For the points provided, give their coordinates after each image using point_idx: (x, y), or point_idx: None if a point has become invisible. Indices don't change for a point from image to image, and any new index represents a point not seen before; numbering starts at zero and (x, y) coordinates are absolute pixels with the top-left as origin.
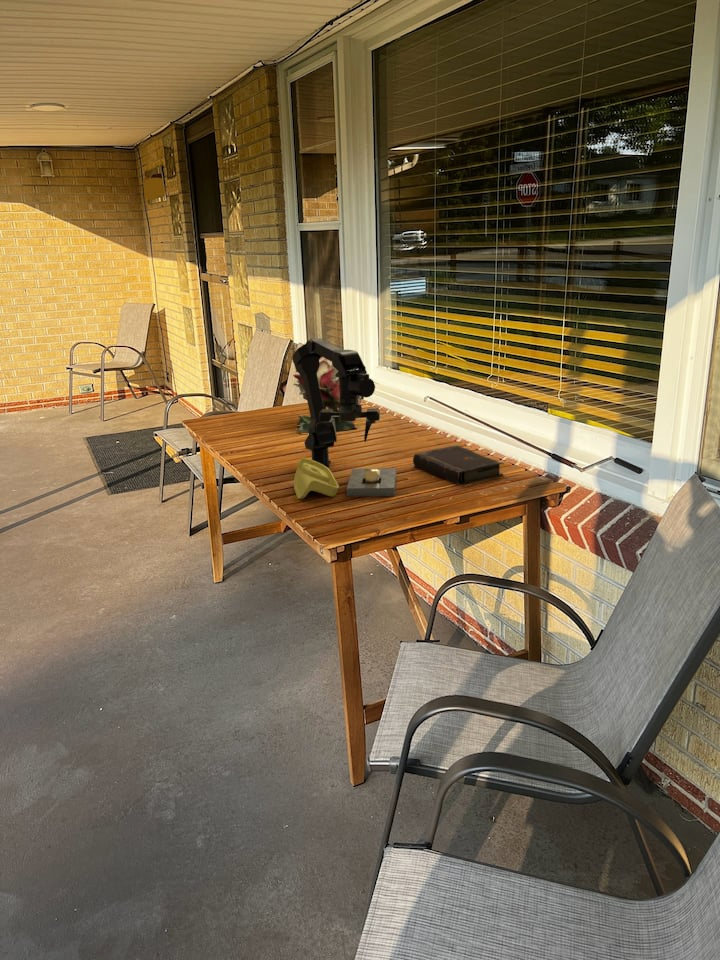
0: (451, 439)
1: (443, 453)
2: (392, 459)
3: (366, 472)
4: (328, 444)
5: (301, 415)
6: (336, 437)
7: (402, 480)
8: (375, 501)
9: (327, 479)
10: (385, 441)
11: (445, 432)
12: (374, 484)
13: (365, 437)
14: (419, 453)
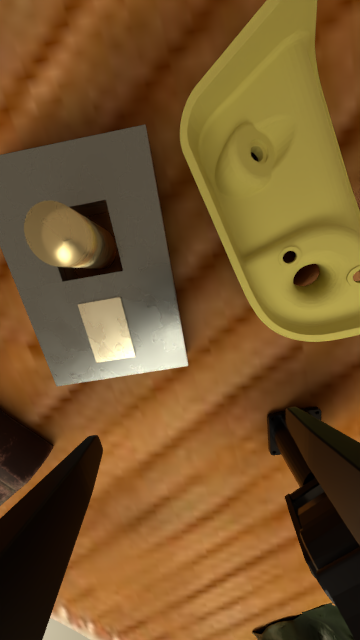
0: None
1: None
2: (124, 484)
3: (72, 209)
4: (306, 503)
5: None
6: (307, 446)
7: None
8: (36, 104)
9: (247, 258)
10: (177, 579)
11: (76, 626)
12: (57, 199)
13: (68, 463)
14: (14, 487)
